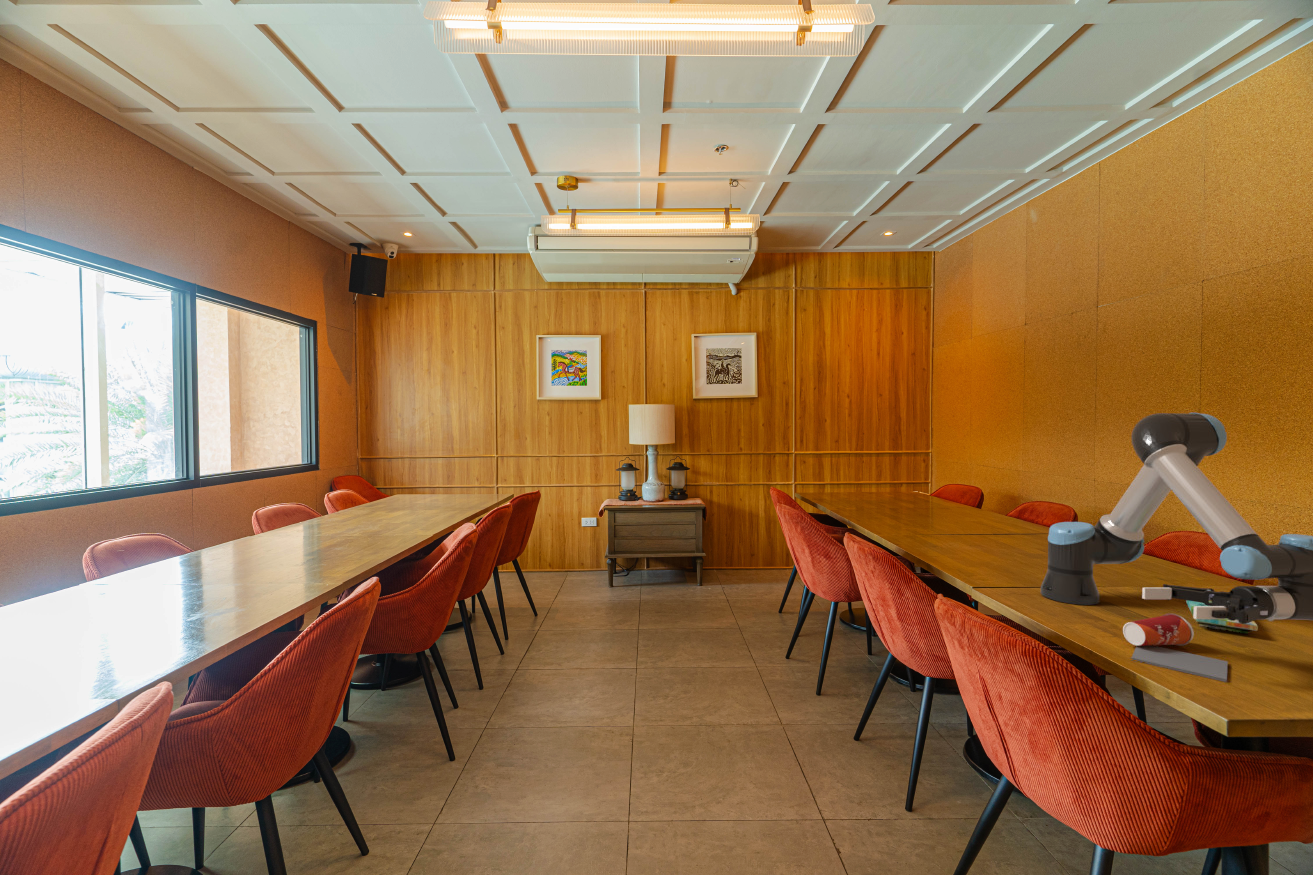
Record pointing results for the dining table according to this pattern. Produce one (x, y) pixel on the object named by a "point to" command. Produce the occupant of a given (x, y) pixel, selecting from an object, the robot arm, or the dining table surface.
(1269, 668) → the dining table surface
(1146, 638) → the paper cup
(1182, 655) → the mat
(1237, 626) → the puzzle game
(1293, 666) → the dining table surface
